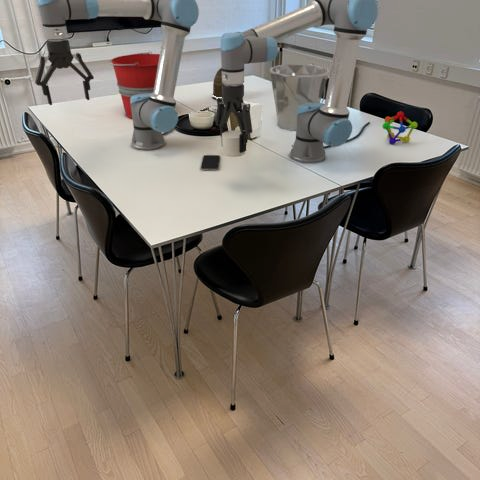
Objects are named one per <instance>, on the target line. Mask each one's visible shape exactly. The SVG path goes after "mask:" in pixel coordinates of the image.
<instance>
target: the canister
mask: <svg viewBox="0 0 480 480" xmlns="http://www.w3.org/2000/svg"><path fill="white" fill-rule="evenodd" d="M240 134H241V131H240V130H228V131H226V132H224V133H222V140H221V147H222V149H221V150H222V155H223V156H225V157H229V158H238V157H243V156H244V155H245V154H246V151H245V152H242V153H240V136H239V135H240Z"/></svg>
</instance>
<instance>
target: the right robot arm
mask: <svg viewBox="0 0 480 480" xmlns="http://www.w3.org/2000/svg"><path fill="white" fill-rule="evenodd" d="M378 14H379V6H378V2H377V0H309V1H308V2H307V4H306V5H304V6H302V7H299V8H296V9H294V10H292V11H290V12H287V13H285V14H283V15H280V16H277V17H276V18H273V19H270V20H269V21H266V22H263V23H262V24H259V25H257V26H255V27H252V28H249V29H247V30H244V31H242V32H241V31H234V32H224V33H223V34H222V35H220V36H221V38H220V48H219V49H220V62H221V64H220V65H221V68H220V69H222V83H223V85H222V95H223V96H224V97H222V98H218V99H217V100H216V105H217V106H216V113H215V126H218V127H219V134H220V138H221V140H220V141H222V133H224V132H226V131H229V127H228V125H227V124H228V122H229V119H230V117H231V113H233V115H234V117H235V119H236V122H237V124H238V128H239V131H241V134H240V135H239V136H240V153H242V152H245V153H246V151H247V144H248V142H249V141H248V138H249V137H248V135H249V134H252V133H253V125H252V118H251V103H245V102H244V96H245V85H244V83H245V65H248V64H257V63H258V64H259V63H268V62H273V61H274V60H276V58H277V57H278V52H279V46H278V45H279V44H278V42H281V41H283V40H285V39H287V38H290V37H292V36H295V35H297V34H298V33H301V32H304V31H306V30H309V29H310V28H320V27H323V26H333V33H334V35H335V38H336V39H335V45H334V51H333V55H332V61H331V66H330V71H329V76H328V77H329V78H328V83H327V87H326V88H327V89H326V93H325V98H324V102H323V103H322V102H320V103H306V104H302V105H300V106H299V107H298V112H297V127H296V130H295V139H294V142H293V143H292V144H291V147H292V148H291V149H290V155H289V157H290V158H291V159H292V160H293V161H295V162H299V163H303V164H316V163H321V162H323V161H325V159H326V151H325V149H329V148H331V147H334V148H336V147H340V146H343V145H344V144H345V143H348V142H351V141H353V140H355V139H357V138H359V136H360V135H361V134H362V132H363V131H364V129H365V128H366V127H367V126H368V125H370V124H371V122H370V121H367V122H366V123H365V124H364V125H362V127H361V129H360V131H359V132H358V134H356V135H355V136H353V137H351V135H352V133H353V123H352V122H351V121H350V120H349V117H350V110H349V108H348V104H349V103H348V102H349V98H350V93H351V88H352V83H353V77H354V73H355V69H356V65H357V59H358V54H359V49H360V44H361V41H362V39H363V38H365V37H366V36H367V33H368V30H369V29H371V28H372V27H373V25H374V24H375V23H376V21H377V18H378ZM350 137H351V138H350Z"/></svg>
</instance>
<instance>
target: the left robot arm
mask: <svg viewBox="0 0 480 480" xmlns="http://www.w3.org/2000/svg"><path fill="white" fill-rule="evenodd" d="M36 1H37V6H38V10H39V14H40V19H41V23H42V30H43V34H44V38H45V40H46V42H45V44H46V49H47V52H48V55H47V56H43V55H39V65H38V68H37V73H36V76H35V80H34V84H35V85H36V86H40V87H41V91H42V94H43V95H44V97H46V98H47V103H48V105H49V106H53V102H52V97H51V93H50V88H49V85H47V84H48V82H49V81H50V79H51V77H52V76H53V74H54V72H55V71H56V69H59V70H61V69H68V68H71V69H72V70H73V71H75V72H76V74H78V75H79V76H80V77H81V78H82V79H83V80H82V85H83V86H82V87H83V93H84V97H85V99H86V100H87V101H90V100H91V99H90V94H89V91H91V83H90V81H91V80H94V78H95V77H94V75H93V73H92V72H91V70H90V69H89V68H88V66H87V65H86V63H85V62H84V60H83V58H82V55H81V53H79V52H76V53H72V51H71V45H70V40H68V38H69V35H68V29H67V22H66V21H69V20H90V19H96V18H97V17H124V18H125V17H127V18H128V17H131V18H132V17H134V18H135V17H137V18H138V17H139V18H143V19H144V20H149V21H150V20H153V21H158V22H160V27H161V29H162V31H163V35H162V38H161V39H162V40H161V45H160V51H159V54H160V57H159V62H158V68H157V74H156V80H155V86H154V91H153V93H144V94H137V95H133V96H132V97H131V98H130V102H131V103H130V105H131V111H132V118H133V119H132V125H133V132H132V135H131V147H132V148H134V149H135V150H141V151H151V150H153V151H154V150H157V149H161V148H163V147H164V146H165V144H166V140H165V137H164V136H165V135H167V134H169V133H171V132H173V130H174V129H175V127H176V126H177V125H178V123H179V122H180V121H182V120H183V119H186V118H187V117H189V116H188V114H186V115H184V116H181V117H180V118H181V119H180V118H179V114H178V111H177V109H176V106H177V101H176V99H175V92H176V87H177V81H178V76H179V72H180V71H179V70H180V65H181V60H182V55H183V50H184V45H185V39H186V37H187V36H188V35H190V33H191V28H192V27H193V26H194V25H195V24H196V23H197V22H198V20H199V15H200V9H199V5H198V3H197V1H196V0H36ZM74 59H75V60H76V61H78V63H79V65H80V66H81V68H82V70H83V71H84V72H85V73H86V74H84V73H83V71H81V69H79V68H78V67H77V66H76V65H74V63H73V60H74ZM48 61H49V62H50V65H49V67H48V70H47V71H46V72H45V75H44V76H43V74H44V71H45V66H46V64H47V63H48ZM205 108H206V109H205ZM205 108H203V110H202V109H200V111H201V112H204V111H206V110H208V109H207V108H208V107H205Z"/></svg>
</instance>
